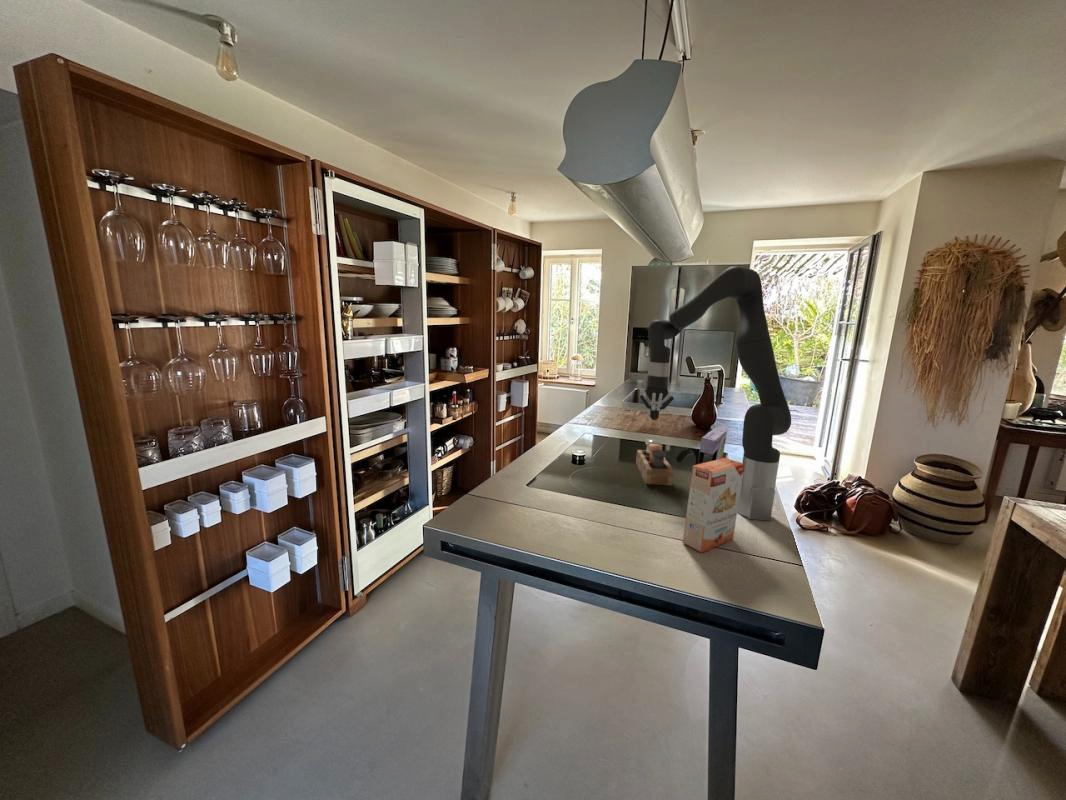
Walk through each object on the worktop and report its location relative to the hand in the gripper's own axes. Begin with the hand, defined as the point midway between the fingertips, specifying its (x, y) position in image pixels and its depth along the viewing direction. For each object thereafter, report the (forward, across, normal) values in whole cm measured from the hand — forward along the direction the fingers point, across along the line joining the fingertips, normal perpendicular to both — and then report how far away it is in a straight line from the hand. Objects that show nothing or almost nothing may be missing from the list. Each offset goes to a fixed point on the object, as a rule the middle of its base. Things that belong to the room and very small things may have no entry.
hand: (653, 419), depth 159 cm
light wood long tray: (+19, 0, -7) cm, 20 cm away
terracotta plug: (+16, 0, -7) cm, 17 cm away
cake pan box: (+19, +19, -10) cm, 29 cm away
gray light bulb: (+16, 0, -14) cm, 21 cm away
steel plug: (+16, 0, 0) cm, 16 cm away
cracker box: (+19, +5, -56) cm, 59 cm away
